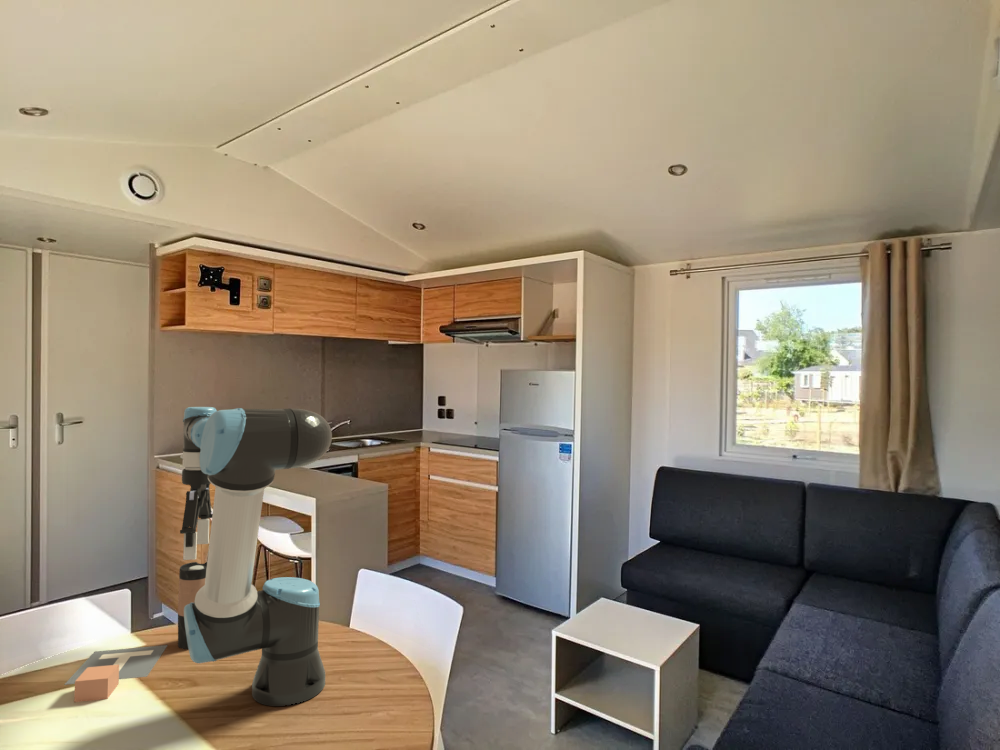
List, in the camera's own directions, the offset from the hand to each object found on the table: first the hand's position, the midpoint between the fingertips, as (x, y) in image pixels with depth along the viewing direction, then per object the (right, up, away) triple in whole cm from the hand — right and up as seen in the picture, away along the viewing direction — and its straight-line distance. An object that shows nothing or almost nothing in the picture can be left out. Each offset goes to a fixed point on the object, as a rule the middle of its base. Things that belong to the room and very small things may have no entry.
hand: (196, 551), depth 148 cm
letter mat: (-12, -23, -12) cm, 29 cm away
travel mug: (0, -24, -1) cm, 24 cm away
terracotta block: (-8, -23, -25) cm, 35 cm away
